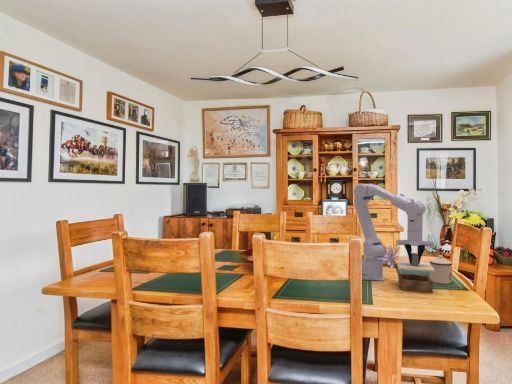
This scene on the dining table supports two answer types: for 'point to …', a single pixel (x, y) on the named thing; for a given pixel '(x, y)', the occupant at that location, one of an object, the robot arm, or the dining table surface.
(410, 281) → the walnut box
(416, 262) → the cream lid
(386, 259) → the water lily
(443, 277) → the teacup with lid
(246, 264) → the dining table surface
